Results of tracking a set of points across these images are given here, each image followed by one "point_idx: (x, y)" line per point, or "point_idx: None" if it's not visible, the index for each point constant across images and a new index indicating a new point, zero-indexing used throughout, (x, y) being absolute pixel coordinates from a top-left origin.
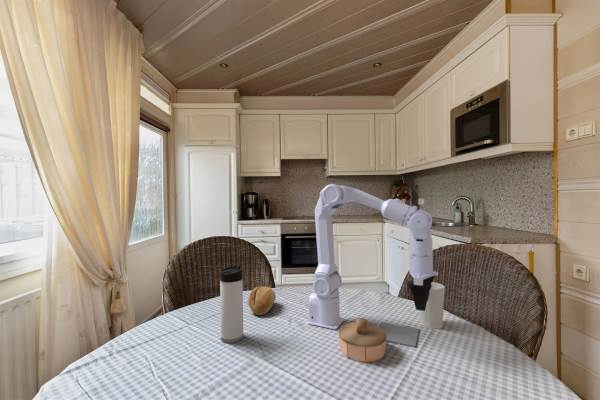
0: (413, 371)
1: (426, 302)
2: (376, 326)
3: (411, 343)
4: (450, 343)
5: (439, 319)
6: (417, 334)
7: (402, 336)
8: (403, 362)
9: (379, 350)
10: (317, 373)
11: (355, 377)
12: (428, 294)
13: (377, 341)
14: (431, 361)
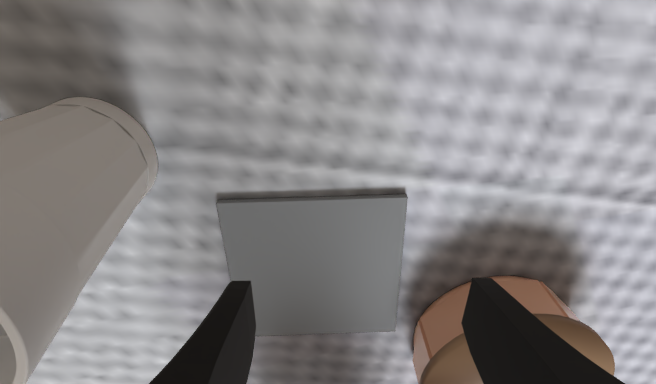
0: (592, 178)
1: (541, 324)
2: (443, 366)
3: (388, 213)
4: (285, 51)
5: (99, 128)
6: (285, 202)
7: (339, 251)
8: (536, 216)
9: (562, 306)
10: (642, 379)
11: (651, 310)
12: (233, 323)
13: (586, 338)
14: (501, 126)
